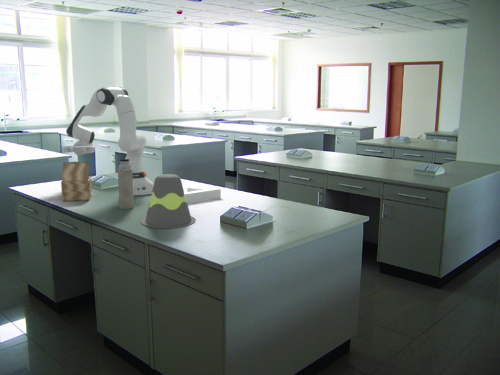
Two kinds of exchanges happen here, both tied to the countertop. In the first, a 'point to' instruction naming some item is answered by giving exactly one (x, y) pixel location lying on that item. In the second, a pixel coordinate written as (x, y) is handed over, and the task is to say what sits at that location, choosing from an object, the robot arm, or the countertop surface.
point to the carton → (76, 190)
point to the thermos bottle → (125, 185)
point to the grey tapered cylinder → (168, 204)
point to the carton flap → (75, 171)
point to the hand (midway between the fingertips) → (77, 150)
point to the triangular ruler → (200, 194)
